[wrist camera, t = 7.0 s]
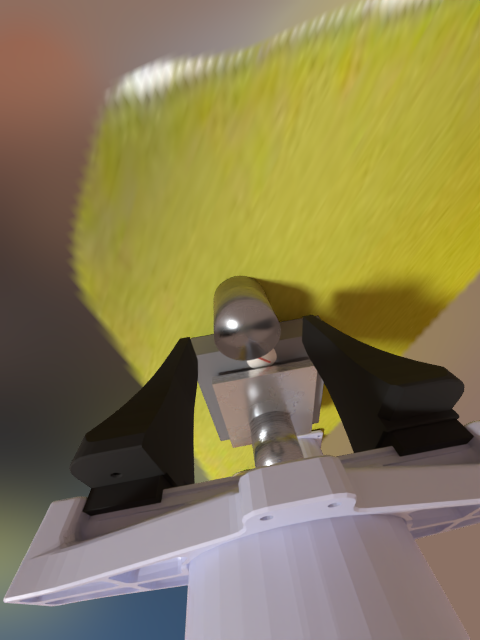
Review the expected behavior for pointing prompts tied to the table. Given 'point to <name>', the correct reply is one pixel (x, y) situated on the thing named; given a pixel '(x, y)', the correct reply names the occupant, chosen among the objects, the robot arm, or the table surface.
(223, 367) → the scale base
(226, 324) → the cylinder
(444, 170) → the table surface
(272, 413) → the steel weight
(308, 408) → the scale pan
